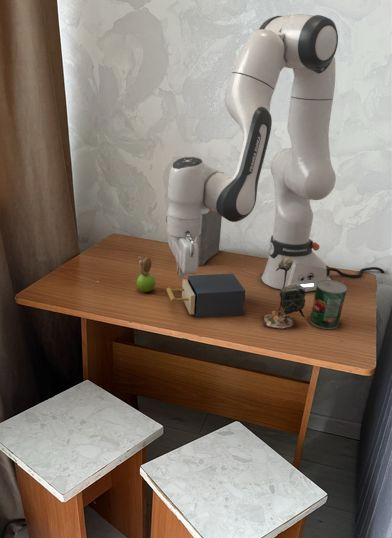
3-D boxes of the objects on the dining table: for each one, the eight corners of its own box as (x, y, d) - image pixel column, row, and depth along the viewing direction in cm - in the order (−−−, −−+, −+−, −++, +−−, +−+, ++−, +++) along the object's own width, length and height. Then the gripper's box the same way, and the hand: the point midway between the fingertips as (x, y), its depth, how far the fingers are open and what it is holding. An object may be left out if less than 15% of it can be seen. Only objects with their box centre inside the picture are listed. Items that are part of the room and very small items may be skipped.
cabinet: (196, 317, 135) (197, 293, 131) (186, 299, 144) (188, 275, 140) (242, 314, 138) (245, 290, 134) (230, 296, 148) (233, 273, 144)
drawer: (172, 315, 134) (172, 296, 131) (165, 298, 142) (165, 280, 139) (233, 311, 138) (235, 293, 135) (222, 295, 146) (224, 277, 143)
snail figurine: (131, 293, 145) (131, 255, 139) (141, 285, 150) (141, 247, 144) (148, 297, 144) (148, 259, 137) (158, 289, 149) (158, 251, 142)
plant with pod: (302, 333, 131) (317, 263, 120) (260, 327, 133) (270, 257, 122) (303, 319, 138) (317, 251, 127) (263, 313, 139) (273, 245, 129)
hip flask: (201, 266, 165) (205, 206, 155) (190, 263, 167) (194, 204, 156) (220, 251, 178) (225, 194, 167) (209, 248, 179) (213, 192, 168)
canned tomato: (344, 325, 136) (353, 288, 131) (324, 331, 133) (332, 294, 127) (323, 312, 142) (331, 277, 136) (303, 319, 138) (310, 282, 132)
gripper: (206, 239, 118) (201, 292, 126) (187, 213, 135) (184, 260, 142) (180, 240, 117) (177, 293, 124) (164, 213, 134) (162, 261, 141)
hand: (181, 275), depth 134 cm, fingers closed
